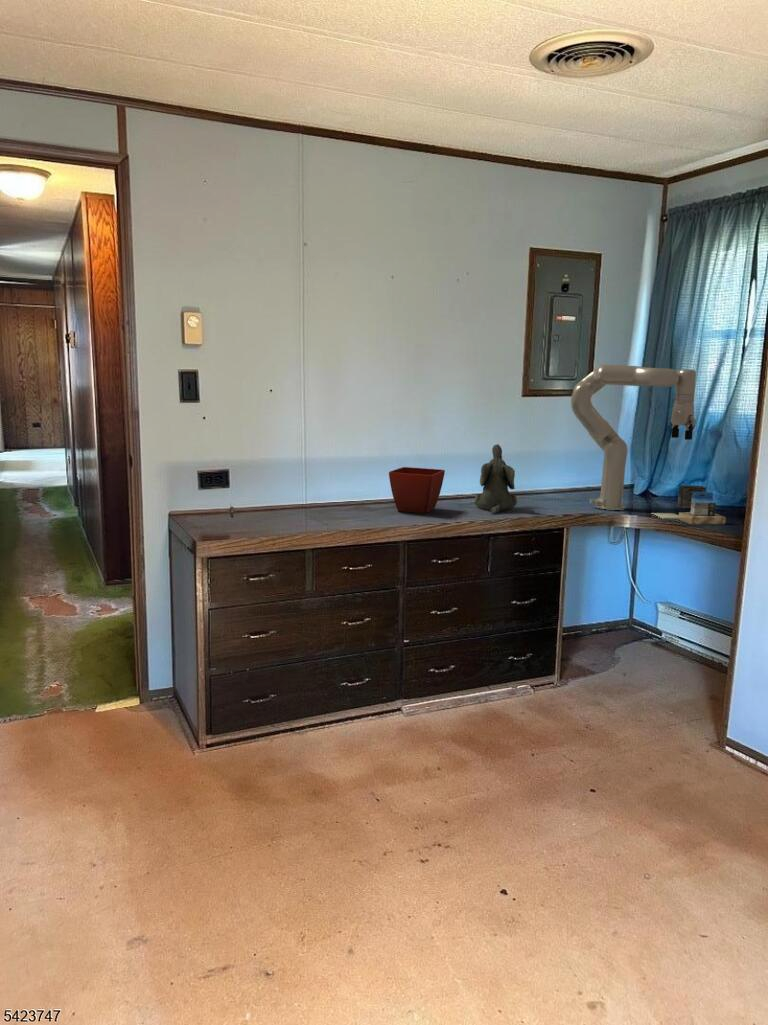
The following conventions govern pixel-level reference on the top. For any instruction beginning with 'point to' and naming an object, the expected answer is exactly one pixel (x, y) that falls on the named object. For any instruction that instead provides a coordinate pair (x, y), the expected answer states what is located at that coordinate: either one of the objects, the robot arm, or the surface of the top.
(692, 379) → the robot arm
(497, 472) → the grey seated figure statue
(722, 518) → the pocket block
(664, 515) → the pad
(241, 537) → the top surface
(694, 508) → the label tape box
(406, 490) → the plant pot
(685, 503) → the small box
